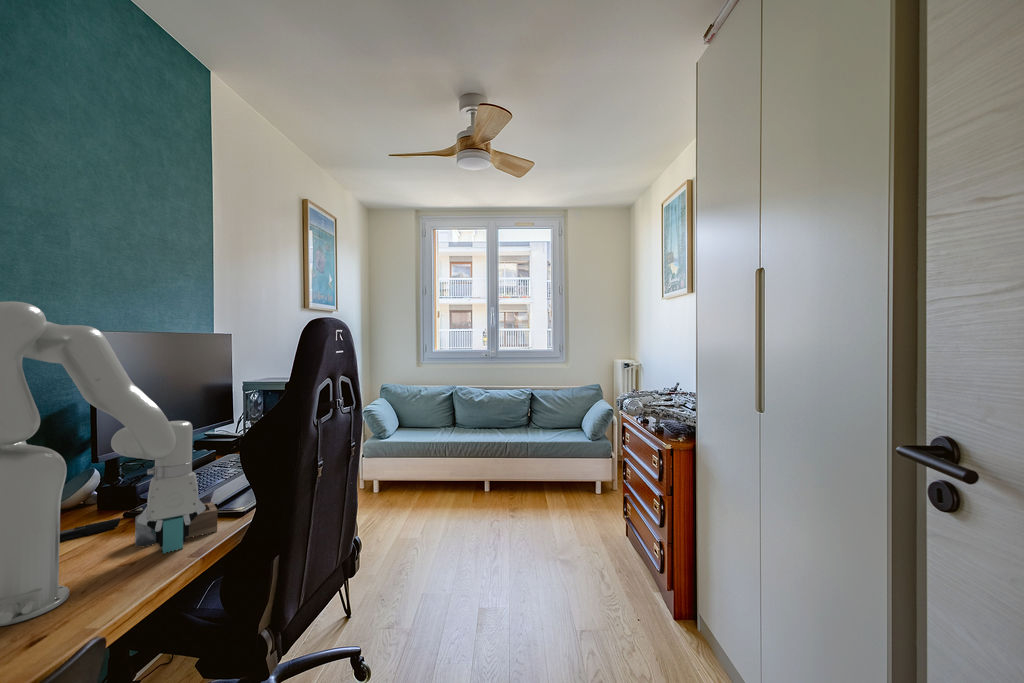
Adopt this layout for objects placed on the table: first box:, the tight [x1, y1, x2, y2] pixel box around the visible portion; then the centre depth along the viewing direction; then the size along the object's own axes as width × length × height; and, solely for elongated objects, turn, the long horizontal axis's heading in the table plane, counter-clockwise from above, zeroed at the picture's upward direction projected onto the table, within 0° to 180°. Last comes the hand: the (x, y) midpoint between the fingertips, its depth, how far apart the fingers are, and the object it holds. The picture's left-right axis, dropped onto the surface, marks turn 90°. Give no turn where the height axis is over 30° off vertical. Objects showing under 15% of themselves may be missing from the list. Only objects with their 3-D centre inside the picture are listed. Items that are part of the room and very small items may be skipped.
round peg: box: [134, 513, 156, 547], centre depth 116 cm, size 6×6×7 cm
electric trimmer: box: [60, 517, 121, 542], centre depth 119 cm, size 4×16×3 cm, turn 139°
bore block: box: [183, 501, 219, 539], centre depth 122 cm, size 8×8×6 cm
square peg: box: [161, 515, 184, 554], centre depth 112 cm, size 4×4×8 cm
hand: (172, 541), depth 112 cm, fingers closed on square peg, 3 cm apart
